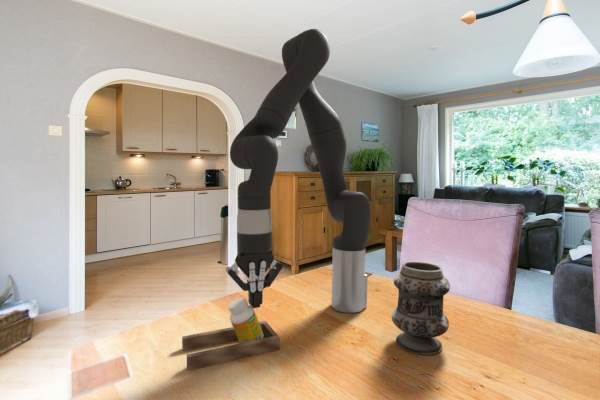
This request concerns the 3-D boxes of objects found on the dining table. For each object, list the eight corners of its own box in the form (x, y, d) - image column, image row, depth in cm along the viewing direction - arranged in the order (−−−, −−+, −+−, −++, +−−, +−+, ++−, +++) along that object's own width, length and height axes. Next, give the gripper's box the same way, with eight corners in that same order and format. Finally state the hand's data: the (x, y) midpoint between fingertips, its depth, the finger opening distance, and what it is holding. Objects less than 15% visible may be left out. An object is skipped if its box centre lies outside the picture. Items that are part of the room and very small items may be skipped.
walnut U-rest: (265, 331, 79) (265, 320, 79) (279, 349, 71) (279, 337, 71) (182, 348, 71) (182, 336, 71) (187, 370, 63) (187, 357, 63)
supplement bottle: (260, 346, 70) (244, 307, 68) (237, 350, 71) (221, 312, 69) (266, 330, 75) (251, 293, 73) (245, 334, 76) (230, 298, 74)
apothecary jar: (445, 336, 78) (448, 261, 77) (450, 363, 67) (454, 276, 65) (392, 327, 82) (394, 256, 81) (388, 351, 71) (391, 269, 69)
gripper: (276, 224, 77) (277, 295, 79) (220, 228, 72) (221, 305, 73) (289, 229, 71) (289, 307, 72) (228, 235, 65) (229, 319, 67)
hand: (255, 306), depth 73 cm, fingers closed
